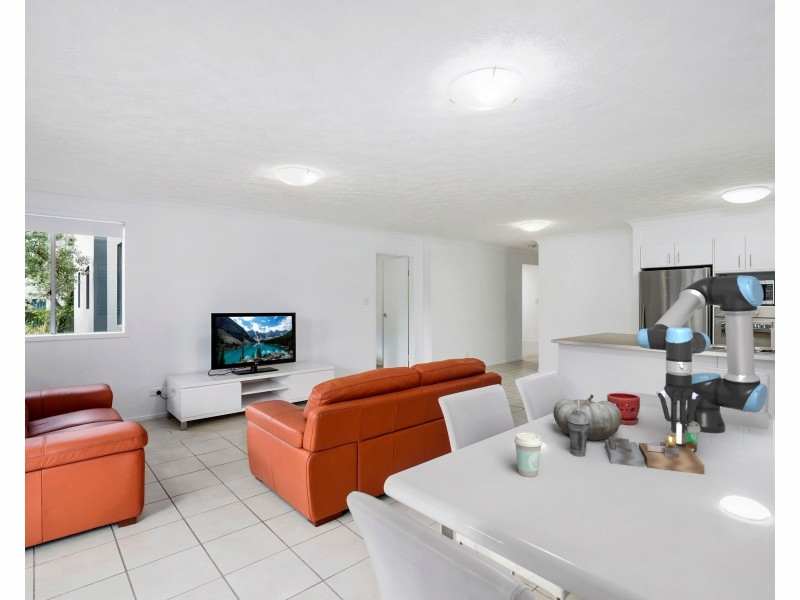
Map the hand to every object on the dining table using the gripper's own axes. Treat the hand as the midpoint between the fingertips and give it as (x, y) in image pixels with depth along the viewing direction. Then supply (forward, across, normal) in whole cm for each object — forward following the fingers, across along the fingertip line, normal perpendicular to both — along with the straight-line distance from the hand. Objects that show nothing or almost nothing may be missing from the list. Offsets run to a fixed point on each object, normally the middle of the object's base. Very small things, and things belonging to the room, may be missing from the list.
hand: (677, 442), depth 148 cm
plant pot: (+7, -10, +46) cm, 48 cm away
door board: (+7, -8, 0) cm, 10 cm away
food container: (+7, +8, +16) cm, 19 cm away
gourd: (+7, -27, +20) cm, 35 cm away
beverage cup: (+7, -32, -3) cm, 32 cm away
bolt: (+4, -5, 0) cm, 6 cm away
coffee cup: (+7, -48, -26) cm, 55 cm away
